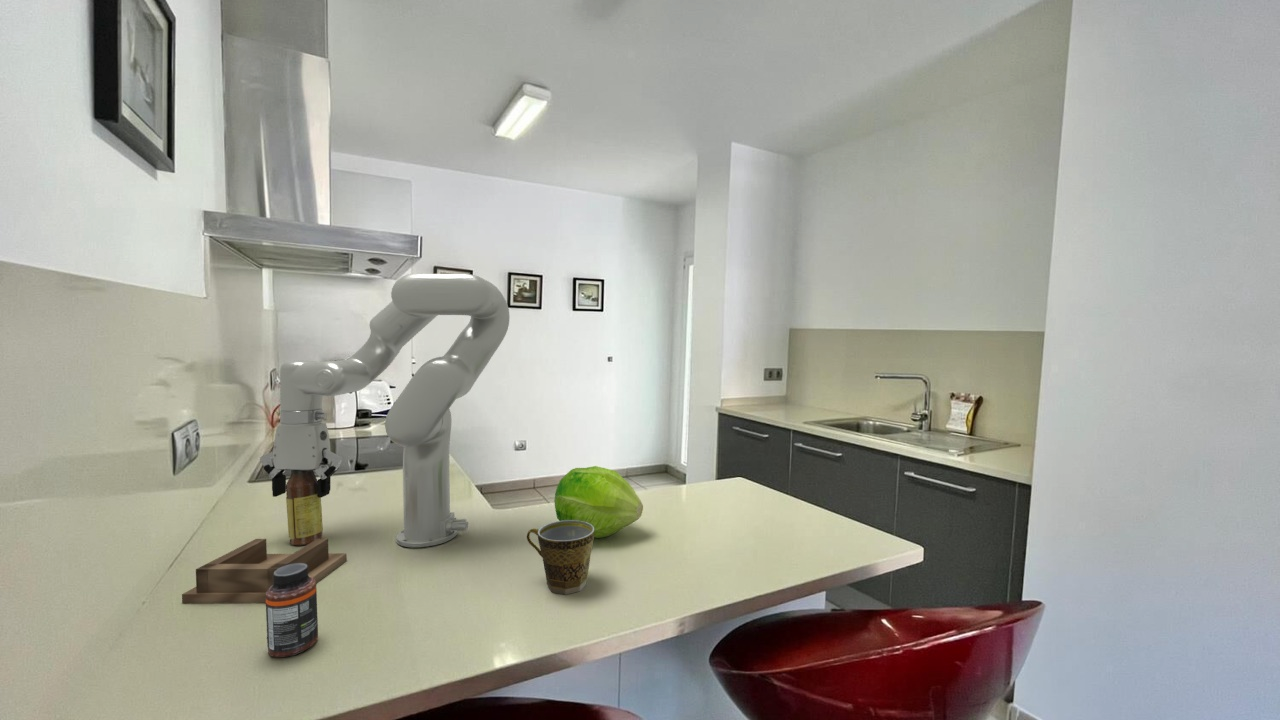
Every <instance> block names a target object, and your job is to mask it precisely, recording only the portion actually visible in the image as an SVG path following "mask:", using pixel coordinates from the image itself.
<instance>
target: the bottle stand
mask: <svg viewBox="0 0 1280 720" xmlns="http://www.w3.org/2000/svg"><path fill="white" fill-rule="evenodd" d="M267 551H268V549H267V538H255V539H253V540H251V541H249V542H247V543H245V544H243V545H241V546H239V547H237V548H235V549H233V550H231V551H229V552H228V553H225V554H223V555H221V556H219V557H217V558H216V559H213V560H211V561H210V562H207V563H205V564H203V565H202V566H201V565H200V566H199V567H197V568H196V569H195V584H196V585H195V587H193V588H191V589H189V590H187V591H186V592H183V593H182V594H181V603H182V604H266V592H267V590H268V589H269V588H270V587H271V586H272V585H273V584H274V582H273V579H274V577H273V574H274V572H275V571H276V570H277V569H278V568H281V567H283V566H286V565H289V564H295V563H304V564H306V565H307V566H308V576H309V577H312V578H313V579H315V581H316V584H317V583H319V582H320V581H321V580H322V579H324V578H325V577H327V576H328V575H329V574H331V573H332V572H334V571H335V570H337V569H339V568H340V567H341V566H342V565H343V564H345V563H346V562H347V561H348V560H347V559H348V556H347V555H348V553H346V552H345V553H344V552H343V553H342V552H341V553H340V552H338V553H333V552H332V553H329V538H321V539H316V540H315V541H313V542H311V543H310V544H307V545H304V546H303V547H301V548H300V549H298V550H296V551H295V552H293V553H268V552H267Z"/></svg>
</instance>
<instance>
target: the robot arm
mask: <svg viewBox="0 0 1280 720" xmlns="http://www.w3.org/2000/svg"><path fill="white" fill-rule="evenodd" d="M390 295H391V300H392V301H390V302H389V303H388V305H386V306H385V307H384V308H383V309H381V310H380V311H379V312H378V313H377V314H376V315H375V316H373V317H372V318H371V319H370V321H369V330H370V333H369V337H368V338H367V341H365V343H364V344H363V345H362V346H361V347H360V348H359V349H357V351H356V352H354V353H353V354H352V355H351V356H349V358H347V359H340V360H325V361H319V362H318V361H314V360H288V361H284V362H283V363H281V365H280V368H279V369H280V370H279V377H280V378H279V399H280V400H279V402H280V403H279V415H280V416H279V419H280V420H279V423H278V424H277V426H276V429H275V435H274V441H273V450H272V451H269V452H267V453H266V454H264V455H262V456H260V457H259V460H260V463H261V465H262V466H263V470H264V471H265V472H266V473H267V474H268V478H269V479H271V491H272V497H274V498H277V497H279V496H281V495H284V494H286V493H287V492H286V484H287V477H286V476H287V475H286V474H284V473H285V472H286V471H291V470H302V471H312V470H313V472H314V473H315V474H316V475H318V477H319V478H318V479H317V496H318V498H323V497H325V496H326V497H327V495H330V491H331V477H333V476H334V474H335V473H336V472H337V471H338V470H339V468H340V466H341V463H342V462H343V459H344V458H343V457H342V456H340V455H338V454H336V453H334V452H333V451H331V440H330V433H329V429H328V426H327V423H326V422H323V419H324V420H326V419H327V417H328V414H327V412H323V397H326V396H327V397H335V396H336V397H337V396H340V395H341V396H342V395H345V394H349V393H355V392H358V391H361V390H363V389H364V388H366V387H367V386H368V385H370V384H371V383H372V382H373V381H375V380H376V379H377V378H378V377H379V376H380V375H381V374H382V373H384V372H385V370H386V369H388V368H389V366H390V365H391V364H392V363H393V361H394V360H396V357H397V356H398V355H399V353H400V352H401V350H402V348H403V347H404V346H406V345H407V343H409V342H410V341H411V340H412V339H413V338H415V337H416V336H417V335H418V334H419V333H420V332H421V331H422V330H423V329H424V328H425V327H426V326H428V325H429V324H430V323H431V322H432V321H433V320H434V319H435V318H437V316H468V317H470V319H469V320H470V321H469V322H468V324H467V325H466V326H465V327H464V329H462V331H461V332H460V333H459V334H458V336H457V338H456V339H455V341H454V342H453V344H452V345H451V346H450V347H449V348H448V349H447V351H446V352H445V353H444V355H442V356H438V357H433V358H430V360H428V361H426V362H425V363H424V364H422V365H421V366H420V367H419V368H418V369H417V370H416V372H415V373H414V374H413V376H412V377H411V379H410V380H409V381H408V383H407V384H406V386H405V387H404V388H403V390H402V391H401V393H400V394H399V395H398V397H397V398H396V400H395V401H394V402H393V405H392V406H391V408H390V409H389V410H388V412H387V415H386V417H385V423H384V428H385V432H386V435H387V437H388V439H389V440H390V441H391V442H392V443H394V444H396V445H397V446H401V447H403V451H402V452H403V453H402V491H403V492H402V495H403V496H402V497H403V529H402V530H400V532H397V534H396V540H395V541H396V543H397V544H398V545H399V546H401V547H405V548H413V549H414V548H417V549H418V548H427V547H432V546H437V545H440V544H443V543H446V542H449V541H451V540H453V539H454V538H455V537H456V536H458V533H459V531H460V532H461V531H462V532H463V531H464V532H466V531H468V529H469V521H467V519H466V518H458V519H457V518H456V517H455V512H452V511H451V498H450V497H451V493H450V491H451V490H450V487H451V485H450V484H451V482H450V444H451V443H450V441H451V432H452V413H451V409H450V408H451V407H452V405H453V404H454V403H455V401H456V400H458V399H459V398H462V397H464V396H466V395H467V394H468V393H469V392H470V391H471V390H472V388H473V387H474V385H475V383H476V382H477V380H478V378H479V377H480V376H481V374H482V373H483V371H484V370H485V368H486V367H487V366H488V364H489V362H490V360H491V359H492V357H493V356H494V355H495V353H496V352H497V350H498V349H499V347H500V346H501V344H502V343H503V341H504V339H505V337H506V335H507V333H508V329H509V326H510V309H509V306H508V303H507V301H506V299H505V296H504V295H503V293H502V292H501V290H500V289H499V288H498V286H496V285H495V284H493V283H492V282H490V281H489V280H487V279H484V278H483V277H480V276H479V275H475V274H470V273H469V274H468V273H410V274H409V273H408V274H405V275H403V276H401V277H400V278H398V279H397V280H396V281H395V283H394V284H393V286H392V288H391V292H390ZM329 465H330V466H329Z"/></svg>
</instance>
